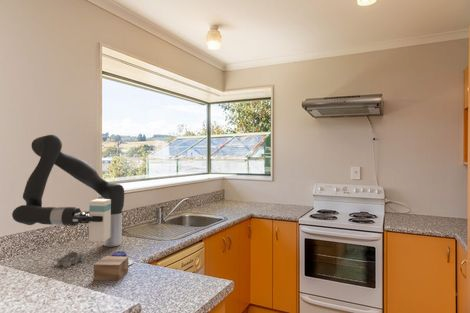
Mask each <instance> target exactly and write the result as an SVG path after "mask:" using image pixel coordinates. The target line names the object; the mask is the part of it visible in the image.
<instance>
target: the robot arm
mask: <svg viewBox="0 0 470 313" xmlns="http://www.w3.org/2000/svg"><path fill="white" fill-rule="evenodd" d="M62 147H63V143H62V140H61V138H60V137H58V135H55V134H46V135H43V136H39V137H37V138H35V139H33V141H32V142H31V149H32V151H33V153H34V154H35V155H37V157H39V160H38V163H37V165H36V167H35V168H34V170H33V171H32V173H31V174H30V175H29V177H28V179H27V181H26V184H25V187H24V190H23V193H22V199H23V200H24V201H25V204H23V205H19V206H17V207H16V208H14V209H13V211H12V213H11V214H12V215H11V216H12V219H13V220H14V221H15V222H17V223H19V224H23V225H26V226H32V225H35V224H36V223H38V224H41V225H50V226H51V225H52V226H53V225H54V226H59V227H61V226H63V227H64V226H66V227H70V226H71V227H76V226H78V225H79V224H89V222H90V223H91V222H102V221H103V216H92V215H91V216H89V210H85V211H83V212H82V211H81V208H80V207H78V206H72V207H71V206H57V207H55V206H54V207H53V206H51V207H49V206H42V204H43V202H42V200H43V195H44V193H45V189H46V185H47V182H48V179H49V176H50V174H51V173H52V170H53V167H54V165H55V166H56V167H58V168H60V169H61V170H63V171H64V172H66V173H67V174H69V175H70V176H72V177H73V178H74V179H75V180H78V181H79V182H81V183H82V184H84V185H85V186H87V187H89V188H90V189H92V190H94V191H95V192H96V193H97V194H98V195H99V196H101V197H102V199H111V225H110V238H109V239H107V240H105V241H102V242H103V244H102V245H103V246H104V247H107V248H108V247H110V248H111V247H117V246H121V245H122V232H123V230H122V229H123V228H122V227H123V226H122V225H123V222H122V221H123V209H124V206H125V204H124V203H125V188H124V186H123V185H122V184H120V183H111V182H109V181H107V180H105V179H104V178H102V177H101V176H100V175H99V173H98V172H97V170H96V169H95V167H93V166H92V165H91V164H90V163H88V162H86V161H85V160H84V159H81V158H78V157H76V156H73V155H72V154H71V155H70V154H68V153H65V152H64V151H62Z"/></svg>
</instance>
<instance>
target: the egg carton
mask: <svg viewBox="0 0 470 313" xmlns="http://www.w3.org/2000/svg"><path fill="white" fill-rule="evenodd" d="M83 256H84V253H82V254H81V253H79V254H78V251H74V250H71V251H69V252H67V254H65V255H64V256H62V257H58V258H57V259H55V261H56V266H58V267H59V266H62V267H63V268H66V267H72V265H73V264H74V265H76V264H78V262H83V261H84V259H83V258H84V257H83Z"/></svg>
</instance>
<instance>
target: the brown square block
mask: <svg viewBox="0 0 470 313" xmlns="http://www.w3.org/2000/svg"><path fill="white" fill-rule="evenodd" d="M128 259H129V256H127V257H118V256H112V255H109V256H107V255H105V256H103V257H102V258H101V259H99V260H98V261H97V262H95V263H93V281H94V280H96V281H97V280H98V281H120V280H121V279H122V278H123V277H124V276H125V275H126V274H127V273H128V272H129V265H128V264H129V262H128Z"/></svg>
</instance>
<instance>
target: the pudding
mask: <svg viewBox="0 0 470 313" xmlns="http://www.w3.org/2000/svg"><path fill="white" fill-rule="evenodd" d="M111 256H118V257H128V256H127V252H126V251H122V250H121V251H119V250H118V251H115V252H113V253H112V255H111ZM133 263H134V260H133V259H130V258H128V266H130V265H133Z"/></svg>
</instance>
